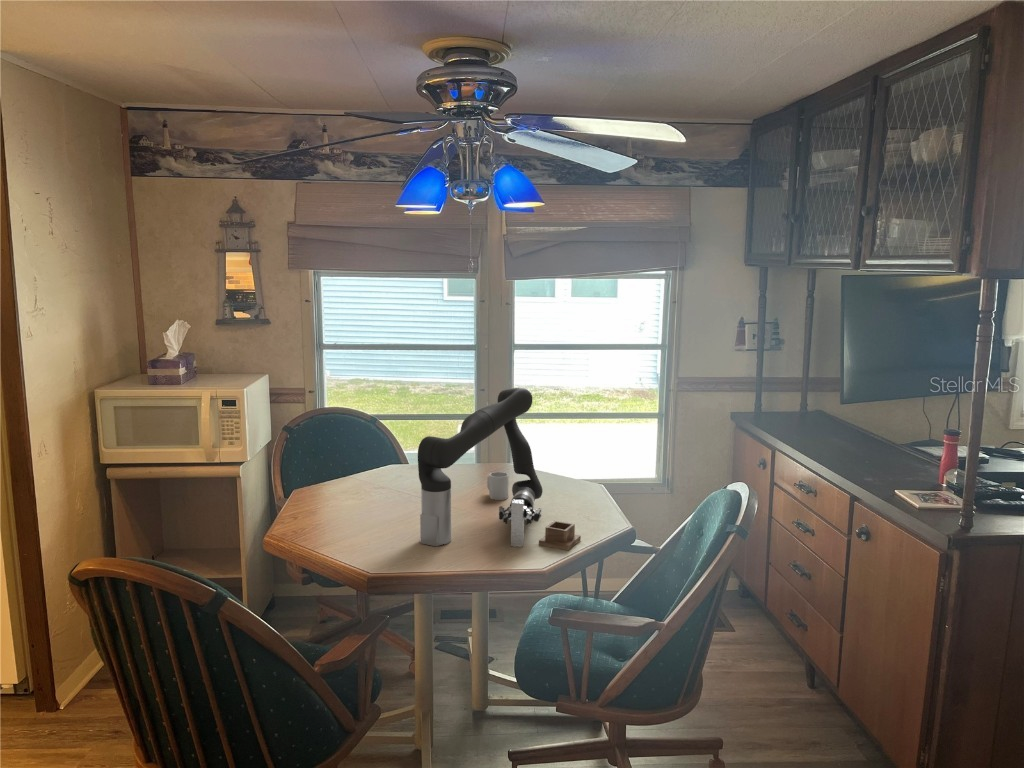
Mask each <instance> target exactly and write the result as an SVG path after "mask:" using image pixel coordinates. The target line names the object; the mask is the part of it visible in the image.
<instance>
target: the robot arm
mask: <svg viewBox="0 0 1024 768" xmlns="http://www.w3.org/2000/svg"><path fill="white" fill-rule="evenodd" d="M532 404H533V395H532V393H531V392H530V391H529V389H527V388H524V387H514V388H508V389H507V388H506V389H503V390H501V391H500V392H499V393H498V396H497V402H496V403H494V404H490V405H488V406H485V407H482V408H480V409H478V410H476V411H474V412H473V413H471V414H470V415H468V416H466V418H464V420H463V421H462V423H461V426H460V431H459V432H458V433H457V434H455V435H453V436H452V437H448V438H442V437H437V436H431V435H429V436H428V435H427V436H425V437H423V438H422V440H420V443H419V444H418V448H417V468H418V469H417V470H418V479H419V482H420V485H421V488H420V489H421V492H420V493H421V514H420V515H419V517H420V519H419V520H420V526H419V527H420V529H419V531H420V544H422V545H428V546H433V547H439V546H444V545H447V544H450V543H451V541H452V481H451V478H450V477H449V476H448V475H446V473H444V472H443V470H442V469H448V468H450V467H451V466H452V465H454V464H455V463H457V462H458V460H459V459H461V457H463V456H464V455H465V454H466V453H467V452H468V451H470V450H471V449H472V448H474V447H475V446H476V445H478V444H480V443H481V442H482V441H484V440H485V439H487V438H488V437H490V436H491V435H493V434H494V433H495V432H497V431H498V430H500V428H502V427H503V428H504V430H505V434H506V437H507V439H508V443H509V448H510V452H511V458H512V465H513V471H514V473H515V474H517V475H525V476H527V477H528V478H529V479H525V480H519V481H516V482H514V483H513V484H512V487H511V491H512V499H511V501H510V504H509V506H508V507H507V508H505V507H503V506H502V505H500V506H498V519H499V520H500V521H501V520H502V522H503V523H504V525H508V524H509V521H511V503H512V500H524V521H525V523H526V526H529V525H531V524H532V522H538V521H539V520H540V519H541V517H542V508H541V507H539V508H536V509H535V500H538V499H540V498H541V497H542V495H543V492H544V491H543V487H542V483H541V481H540V480H539V477H538V475H537V472H536V470H535V466H534V460H533V454H532V449H531V445H530V443H529V442H528V440H527V439H526V437H525V436H524V434H523V433H522V431H521V429H520V427H519V425H518V422H517V417H519V416H521V415H524V414H525V413H528V411H530V409H531V408H532ZM443 544H444V545H443Z"/></svg>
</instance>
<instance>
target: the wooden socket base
mask: <svg viewBox="0 0 1024 768" xmlns="http://www.w3.org/2000/svg"><path fill="white" fill-rule="evenodd" d="M544 529H545V530H544V531H545V533H544V534H545V535H544V536H542V538H540V539H538V545H539V546H542V545H543V547H547V548H548V547H549V548H554V549H558V550H565V551H569V550H571V549H572V548H573V547H575V545H577V544H578V543H580V542H581V540H582V539H581V538H582V536H581V535H579V534H576V533H575V532H576V531H575V530H576V527H575V523H572V522H571V523H569V522H564V521H557V520H553V521H552V522H551V523H549V524H548V525H547V526H546V527H545V528H544Z"/></svg>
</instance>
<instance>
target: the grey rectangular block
mask: <svg viewBox="0 0 1024 768" xmlns="http://www.w3.org/2000/svg"><path fill="white" fill-rule="evenodd" d="M511 501H512V503H511V502H510V504H511V520H510V547H511V546H518V547H517V548H523V546H524V544H523V543H525V542H524V541H525V539H524V537H525V536H524V535H525V532H524V531H525V519H524V500H512V499H511Z"/></svg>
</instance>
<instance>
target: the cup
mask: <svg viewBox="0 0 1024 768" xmlns="http://www.w3.org/2000/svg"><path fill="white" fill-rule="evenodd" d="M509 476H510V475H509V473H508V472H504V471H494V472H490V473H489V475H488V477H487V479H486V487H487V490H488V495H489V499H491V500H493V499H495V500H494V501H504V499H505V500H507V499H508V498H509V478H510V477H509Z"/></svg>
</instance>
